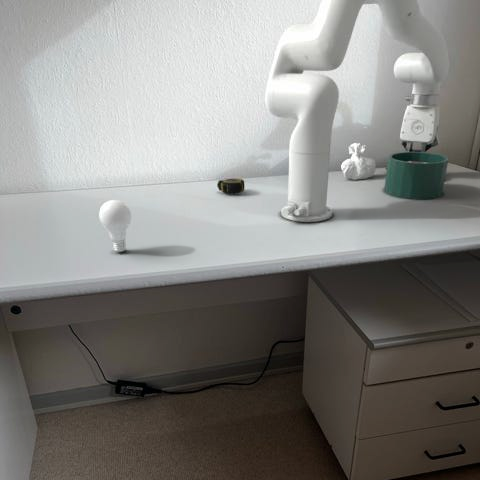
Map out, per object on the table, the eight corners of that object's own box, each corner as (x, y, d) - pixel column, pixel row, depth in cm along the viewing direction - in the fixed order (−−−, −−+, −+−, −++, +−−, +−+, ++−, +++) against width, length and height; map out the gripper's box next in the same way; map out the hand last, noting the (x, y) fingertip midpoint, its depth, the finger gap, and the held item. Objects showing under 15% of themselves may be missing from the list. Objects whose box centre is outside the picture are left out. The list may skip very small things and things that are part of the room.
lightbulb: (137, 246, 107) (131, 195, 102) (133, 257, 102) (126, 204, 96) (108, 246, 107) (100, 196, 102) (102, 258, 102) (93, 205, 96)
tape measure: (238, 189, 147) (238, 176, 145) (248, 194, 141) (248, 181, 139) (217, 191, 144) (216, 178, 143) (226, 197, 139) (225, 184, 137)
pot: (434, 202, 131) (441, 166, 127) (376, 194, 139) (380, 159, 134) (448, 189, 143) (454, 154, 138) (393, 182, 150) (398, 149, 146)
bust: (371, 182, 159) (362, 150, 160) (384, 171, 152) (374, 137, 153) (338, 186, 156) (330, 153, 157) (349, 175, 148) (340, 140, 150)
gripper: (393, 100, 147) (384, 164, 155) (450, 103, 139) (437, 170, 148) (400, 98, 152) (392, 160, 161) (455, 101, 144) (443, 165, 153)
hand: (414, 164), depth 154 cm, fingers closed on lid, 2 cm apart
